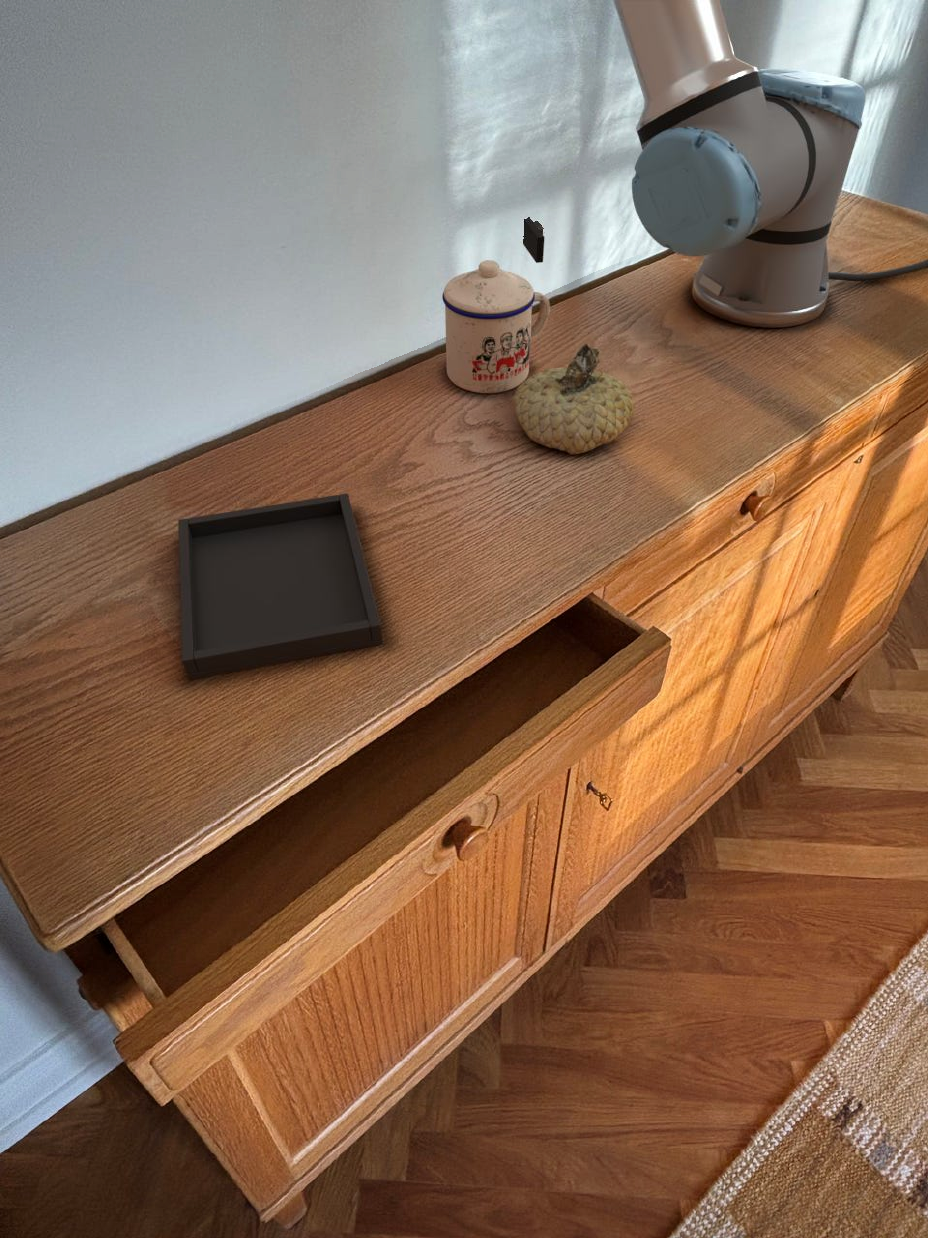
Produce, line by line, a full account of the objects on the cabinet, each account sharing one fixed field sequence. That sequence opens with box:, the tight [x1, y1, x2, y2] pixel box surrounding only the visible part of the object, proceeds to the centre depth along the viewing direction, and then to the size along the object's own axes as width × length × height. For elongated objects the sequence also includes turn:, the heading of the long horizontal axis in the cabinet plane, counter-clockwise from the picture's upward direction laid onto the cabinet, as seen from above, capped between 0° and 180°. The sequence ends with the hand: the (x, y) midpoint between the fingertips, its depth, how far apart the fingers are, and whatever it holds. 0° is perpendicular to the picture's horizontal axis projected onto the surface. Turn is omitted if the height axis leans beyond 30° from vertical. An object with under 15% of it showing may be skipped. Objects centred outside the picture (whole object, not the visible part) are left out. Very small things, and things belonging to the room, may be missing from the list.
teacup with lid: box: [441, 259, 551, 394], centre depth 88 cm, size 12×9×12 cm
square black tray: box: [177, 493, 384, 681], centre depth 68 cm, size 14×16×2 cm
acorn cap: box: [513, 343, 636, 455], centre depth 83 cm, size 10×11×10 cm
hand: (478, 256), depth 91 cm, fingers open, 13 cm apart
